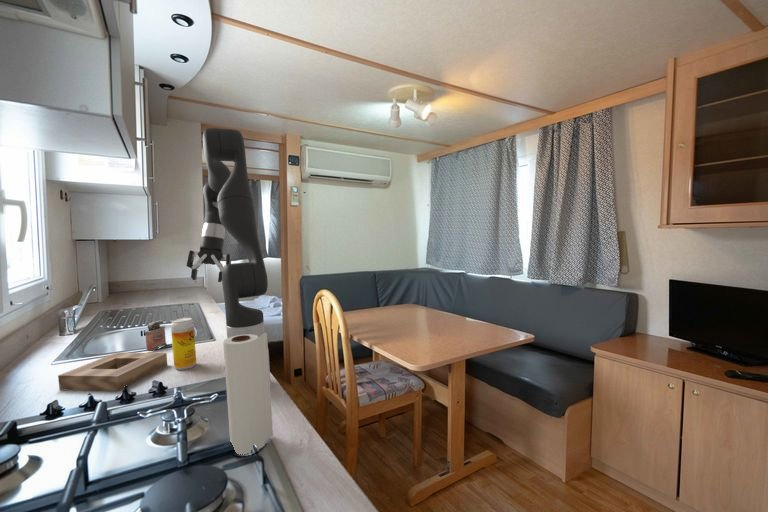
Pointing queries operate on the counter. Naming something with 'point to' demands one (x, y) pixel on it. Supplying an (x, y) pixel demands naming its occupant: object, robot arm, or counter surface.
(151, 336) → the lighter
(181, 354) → the yellow cylinder
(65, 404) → the counter surface
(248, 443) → the paper towel roll
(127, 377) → the socket block
